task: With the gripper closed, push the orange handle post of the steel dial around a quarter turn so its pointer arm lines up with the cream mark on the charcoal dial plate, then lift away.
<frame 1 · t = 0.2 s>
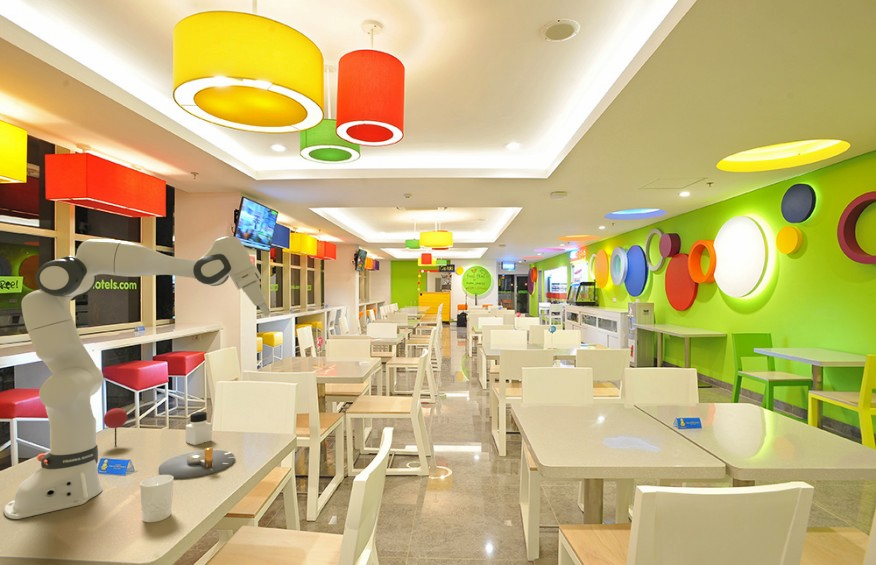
hand: (268, 314, 162), 54 cm above the table, tool tilted 30°, fingers open, 8 cm apart
dial plate: (197, 465, 166), on the table
white cup: (157, 517, 129), on the table
white square bottle: (198, 442, 192), on the table
dial: (201, 454, 164), point 5 cm above the table, hinge at -90.0°
lollipop: (115, 446, 188), on the table
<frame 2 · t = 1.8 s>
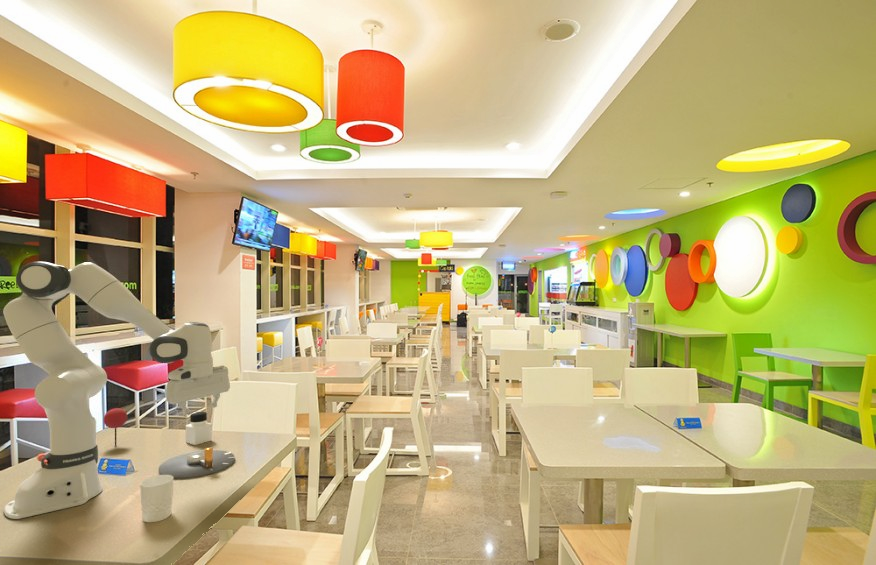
hand: (200, 410, 158), 22 cm above the table, tool pointing down, fingers open, 8 cm apart
nothing on the table moved.
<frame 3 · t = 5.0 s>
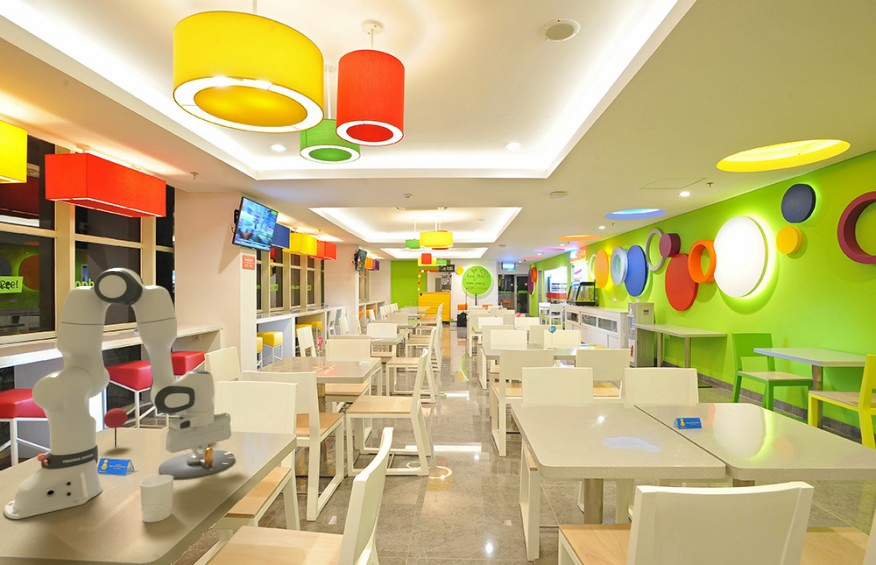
hand: (200, 458, 158), 5 cm above the table, tool pointing down, fingers closed
dial: (201, 454, 164), point 5 cm above the table, hinge at -89.9°, touching gripper
everything else where it was.
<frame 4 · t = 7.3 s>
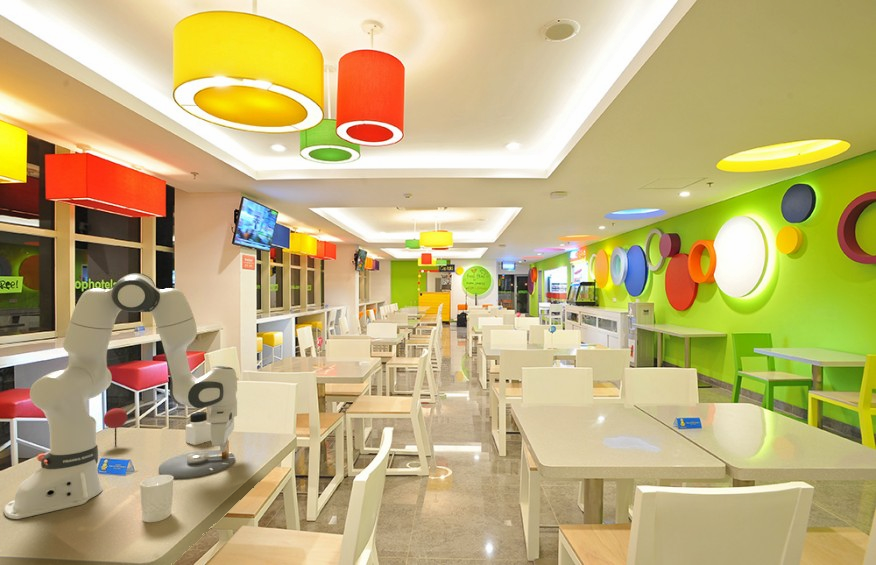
hand: (223, 450, 166), 5 cm above the table, tool pointing down, fingers closed
dial: (208, 451, 167), point 5 cm above the table, hinge at -36.9°, touching gripper
everything else where it was.
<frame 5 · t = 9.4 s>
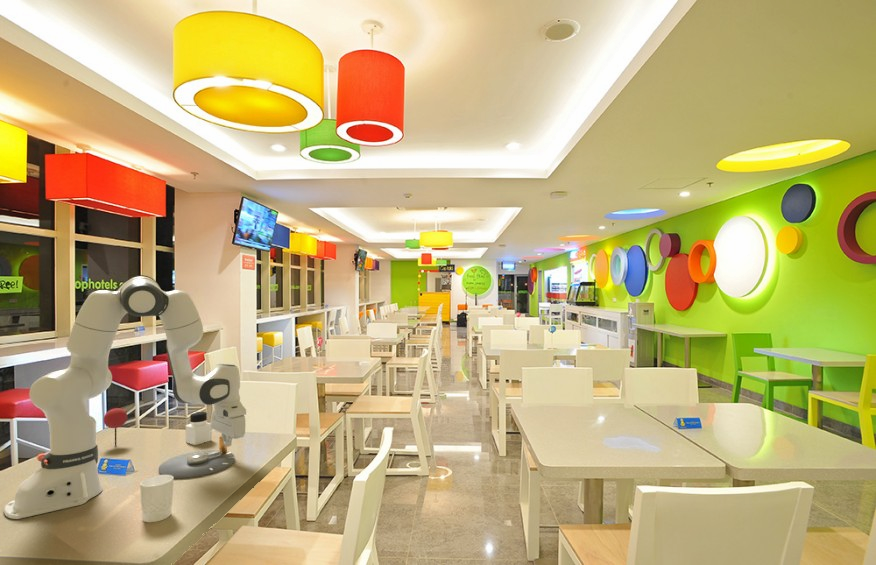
hand: (227, 445, 171), 5 cm above the table, tool pointing down, fingers closed
dial: (207, 449, 169), point 5 cm above the table, hinge at 0.0°, touching gripper
everything else where it was.
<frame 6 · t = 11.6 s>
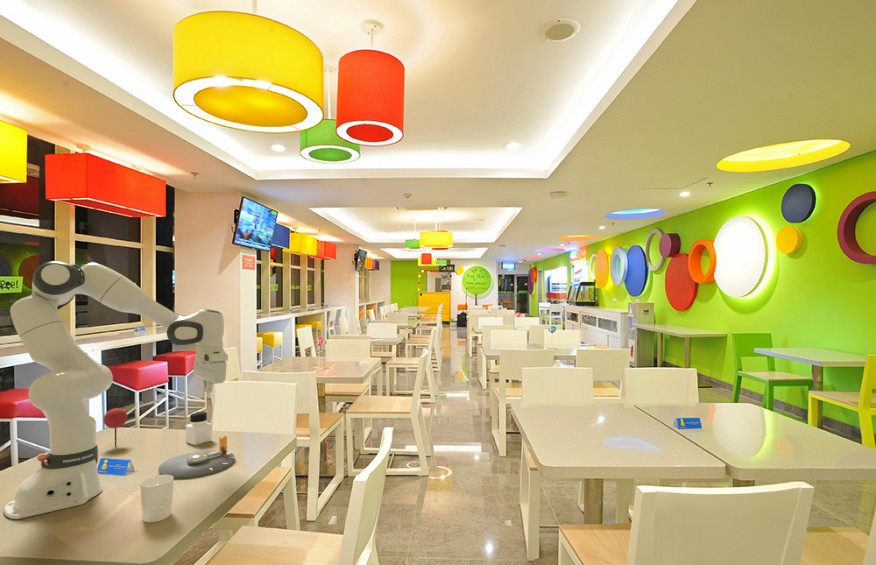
hand: (207, 392, 169), 25 cm above the table, tool pointing down, fingers closed
dial: (207, 449, 169), point 5 cm above the table, hinge at 0.1°
everything else where it was.
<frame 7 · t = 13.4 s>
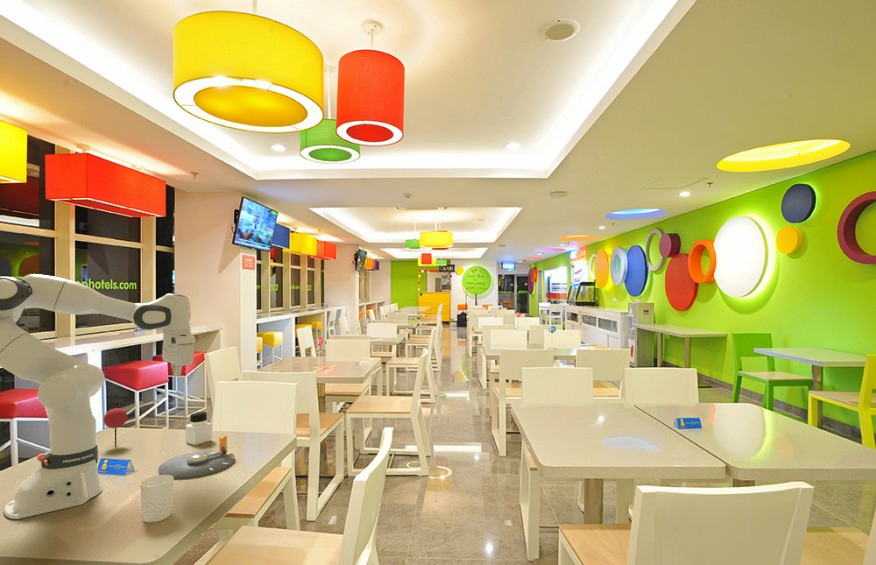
hand: (177, 375, 172), 31 cm above the table, tool pointing down, fingers closed
nothing on the table moved.
at the end: dial at +0° (first picture: -90°) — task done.
